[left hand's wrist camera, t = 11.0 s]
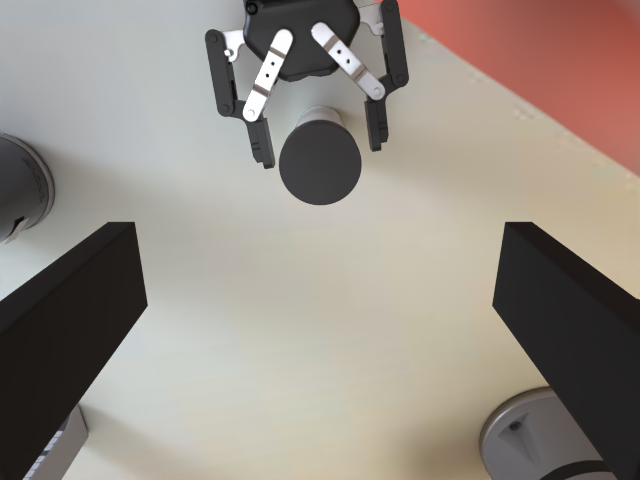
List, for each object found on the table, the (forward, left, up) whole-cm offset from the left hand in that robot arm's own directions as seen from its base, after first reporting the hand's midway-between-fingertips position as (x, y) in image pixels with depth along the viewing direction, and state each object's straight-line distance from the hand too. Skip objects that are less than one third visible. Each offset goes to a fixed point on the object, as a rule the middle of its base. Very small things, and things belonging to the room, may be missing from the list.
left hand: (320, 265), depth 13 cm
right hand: (0, +1, -24) cm, 24 cm away
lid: (0, 0, -14) cm, 14 cm away
